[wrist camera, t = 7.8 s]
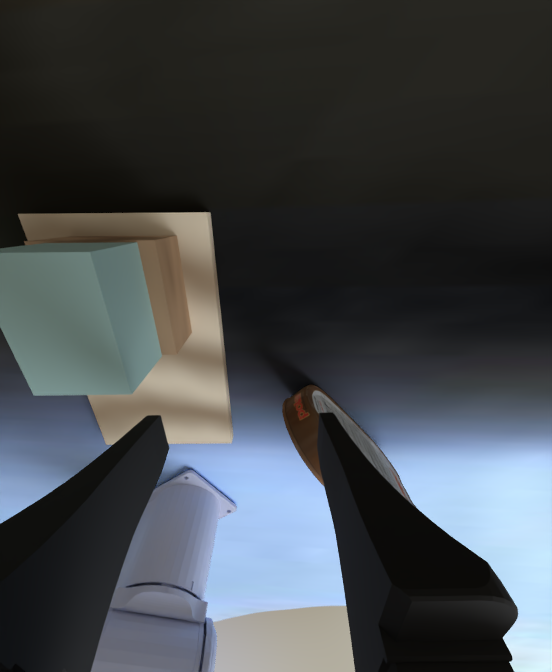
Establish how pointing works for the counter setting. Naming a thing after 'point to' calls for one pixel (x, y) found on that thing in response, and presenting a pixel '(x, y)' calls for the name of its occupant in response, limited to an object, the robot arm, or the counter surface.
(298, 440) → the tin
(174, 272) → the walnut block
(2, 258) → the teal brick
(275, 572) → the counter surface
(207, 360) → the birch board
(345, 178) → the counter surface
